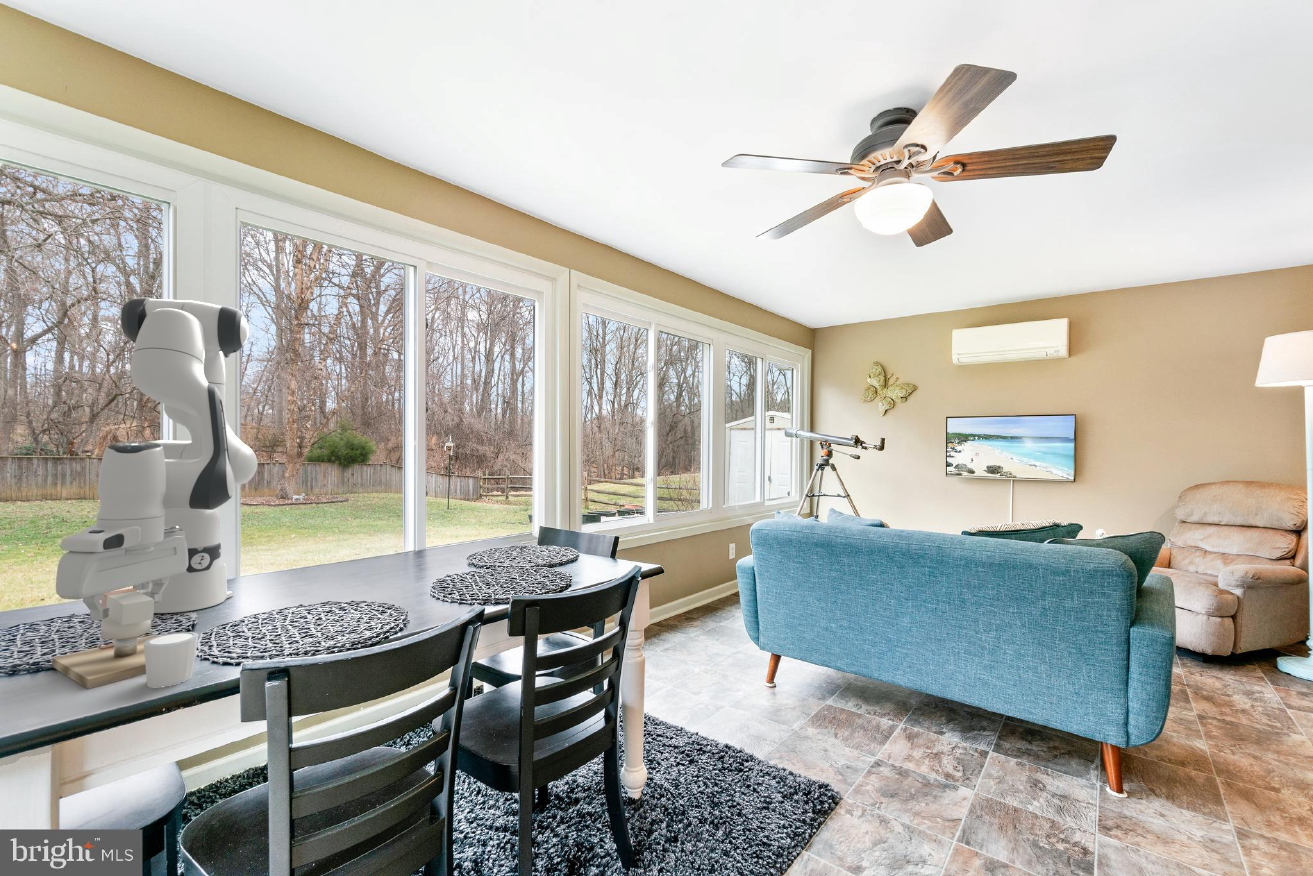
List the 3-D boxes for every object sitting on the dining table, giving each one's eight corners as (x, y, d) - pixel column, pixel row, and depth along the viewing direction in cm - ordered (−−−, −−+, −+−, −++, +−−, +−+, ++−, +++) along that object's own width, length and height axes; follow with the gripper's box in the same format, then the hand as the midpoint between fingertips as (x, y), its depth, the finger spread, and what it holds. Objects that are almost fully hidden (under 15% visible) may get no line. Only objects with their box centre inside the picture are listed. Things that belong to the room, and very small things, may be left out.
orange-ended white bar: (111, 645, 92) (113, 606, 92) (91, 631, 98) (92, 594, 98) (161, 634, 97) (162, 597, 97) (138, 622, 103) (140, 587, 103)
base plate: (51, 666, 95) (52, 656, 95) (154, 642, 107) (155, 633, 107) (88, 688, 88) (88, 678, 88) (194, 659, 100) (195, 650, 100)
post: (110, 655, 97) (111, 635, 97) (132, 650, 100) (133, 630, 100) (117, 659, 95) (118, 638, 96) (140, 653, 98) (140, 633, 98)
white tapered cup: (131, 691, 87) (133, 647, 87) (157, 673, 94) (159, 632, 94) (182, 687, 89) (184, 644, 89) (205, 670, 96) (206, 630, 96)
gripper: (169, 523, 108) (166, 593, 108) (49, 542, 88) (45, 628, 88) (199, 525, 108) (196, 595, 108) (86, 544, 88) (82, 631, 87)
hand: (127, 610), depth 98 cm, fingers open, 8 cm apart
